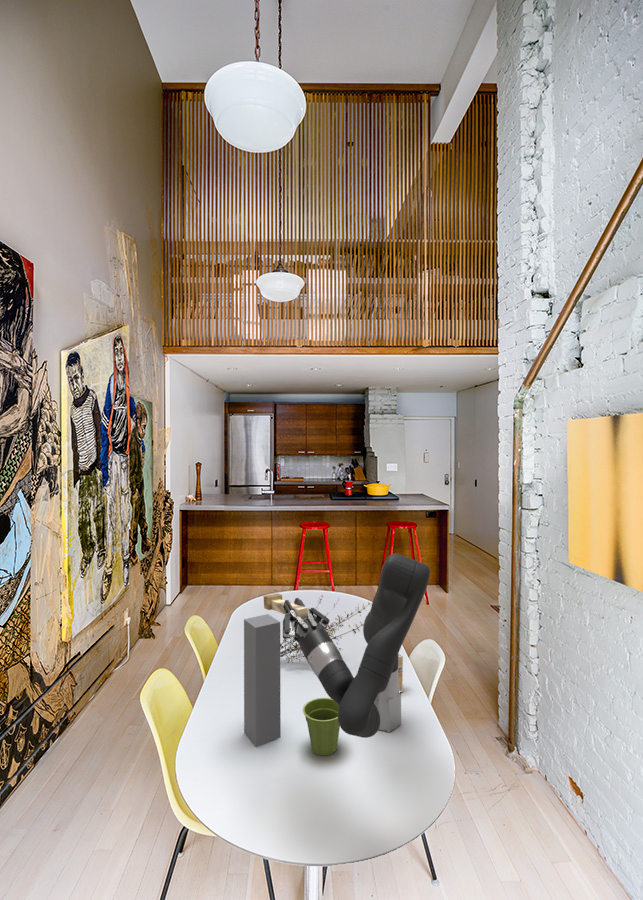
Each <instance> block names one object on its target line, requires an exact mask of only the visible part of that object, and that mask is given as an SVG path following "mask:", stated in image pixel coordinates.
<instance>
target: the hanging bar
mask: <svg viewBox="0 0 643 900" xmlns="http://www.w3.org/2000/svg"><path fill="white" fill-rule="evenodd" d="M284 603H285V600H284V599H283V594H280V593H272V594H268V595H264V596H263V609H265V610H268V611H271V610H272V611H275V612H277V613H280V614H282V615H285V614H286V612H285V610H284V608H283V605H284ZM290 604H291V605H292V607H293V609H294V610H293V611H294V612H295V613H296V614H297V616H300V617H301V619H304V618H307V614H308V610H307V608H308V607H307V608H306V606H305V607H303V606H299V605H296V604H294V602H290Z"/></svg>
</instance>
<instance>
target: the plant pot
mask: <svg viewBox="0 0 643 900" xmlns="http://www.w3.org/2000/svg"><path fill="white" fill-rule="evenodd" d="M338 710H339V704H338V703H337V702H335V701H334V700H333V699H331V698H330V697H318V698H313V699H311V700H309V701H308V702H306V703H305V704H304V705H303V707H302V712H303V715H304V716H305V717H304V718H305V721H306V723H307V728H308V734H309V735H308V736H309V739H310V740H309V741H310V745H311V750H312V752H313V753H314V754H315V755H321V756H323V757H324V756H330V755H333V754H334V753H335V752H336V750H337V748H338V742H339V734H340V729H341V727H340V725H339V722H338Z"/></svg>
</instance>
